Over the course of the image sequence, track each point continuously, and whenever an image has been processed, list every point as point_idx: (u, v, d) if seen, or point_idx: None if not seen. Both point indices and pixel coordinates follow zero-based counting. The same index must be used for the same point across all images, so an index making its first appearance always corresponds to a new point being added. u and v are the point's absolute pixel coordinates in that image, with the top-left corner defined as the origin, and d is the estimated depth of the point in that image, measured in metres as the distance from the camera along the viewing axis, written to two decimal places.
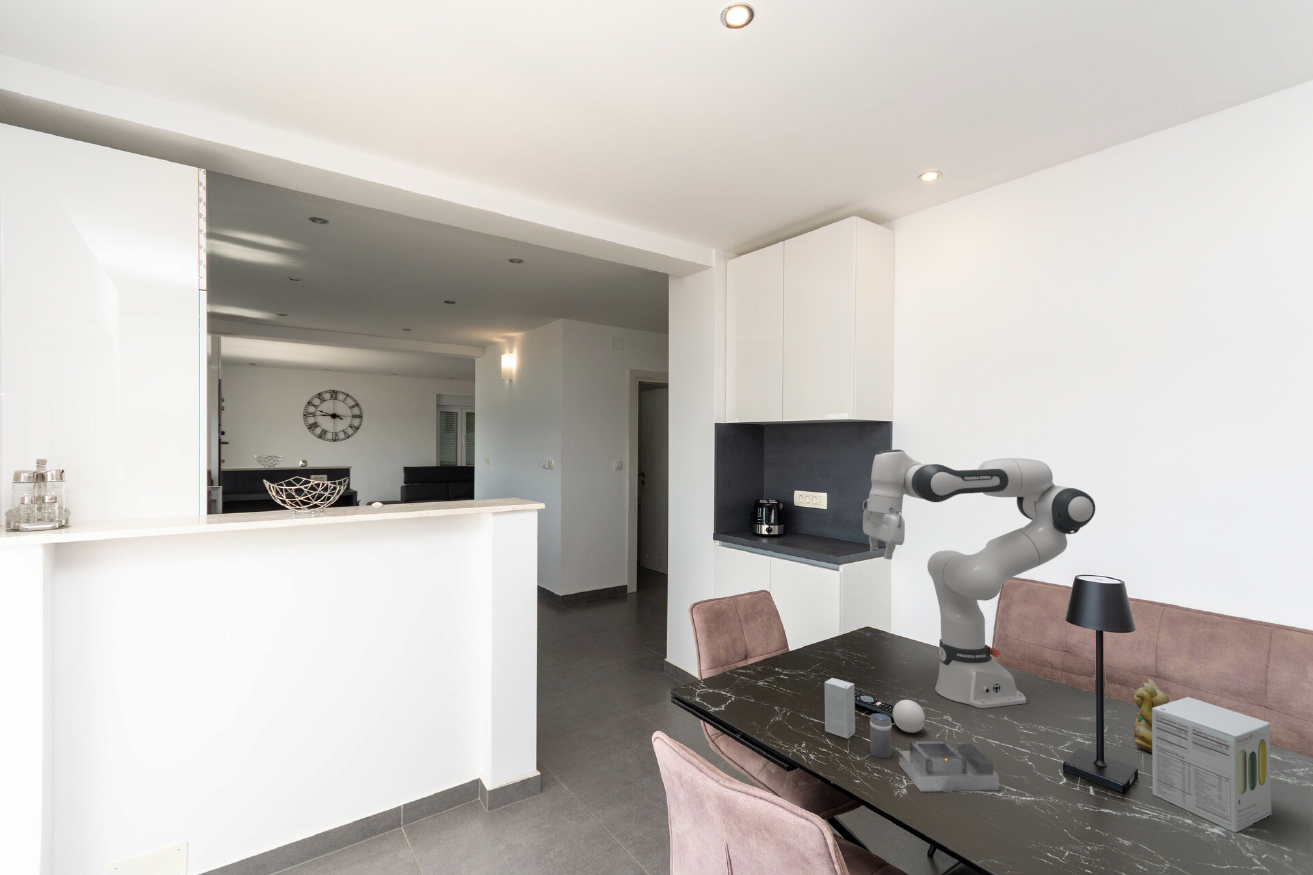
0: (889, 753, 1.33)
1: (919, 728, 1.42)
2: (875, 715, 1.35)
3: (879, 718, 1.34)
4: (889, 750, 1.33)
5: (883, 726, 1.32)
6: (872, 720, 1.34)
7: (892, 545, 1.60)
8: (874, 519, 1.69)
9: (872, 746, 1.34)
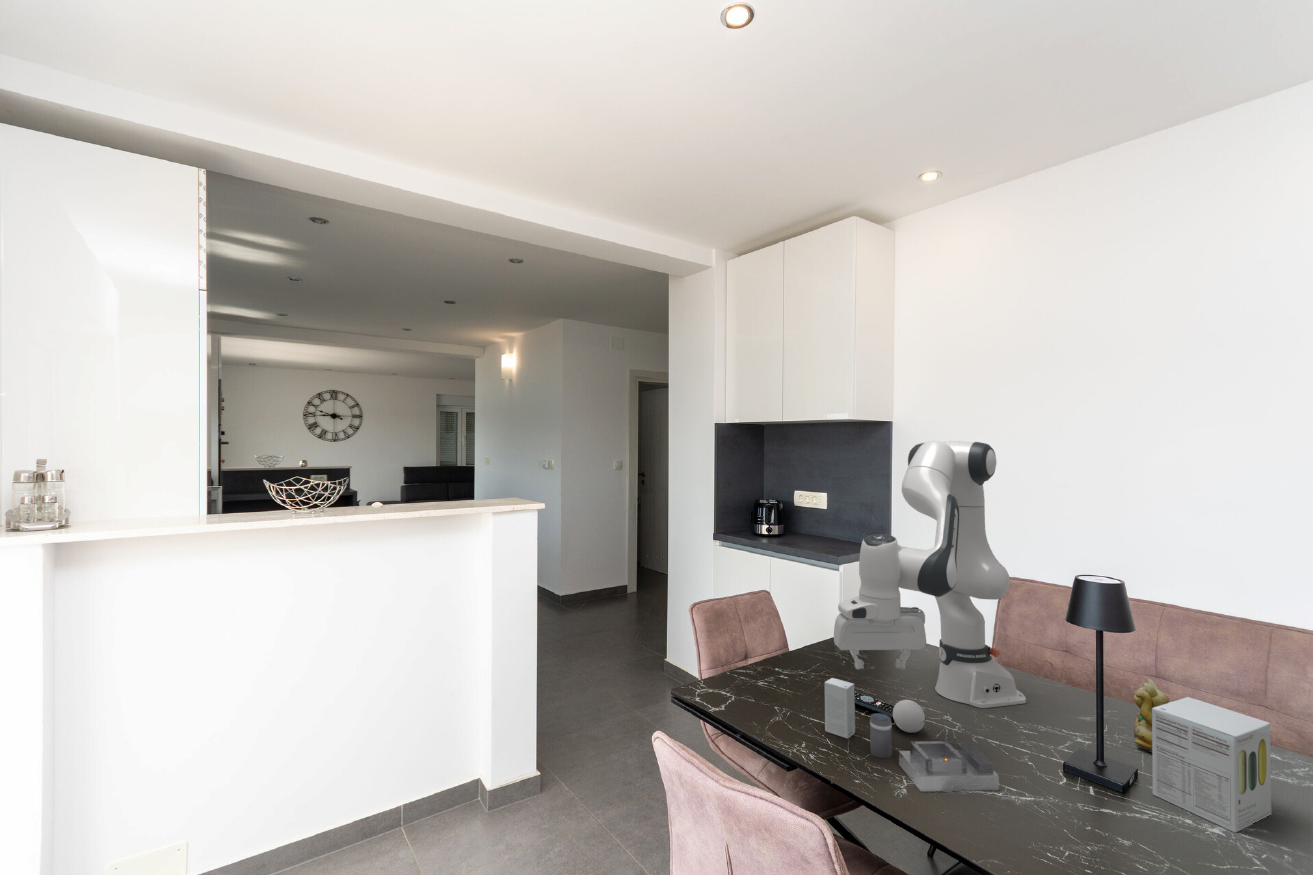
0: (889, 753, 1.33)
1: (919, 728, 1.42)
2: (875, 715, 1.35)
3: (879, 718, 1.34)
4: (889, 750, 1.33)
5: (883, 726, 1.32)
6: (872, 720, 1.34)
7: None
8: (870, 627, 1.33)
9: (872, 746, 1.34)
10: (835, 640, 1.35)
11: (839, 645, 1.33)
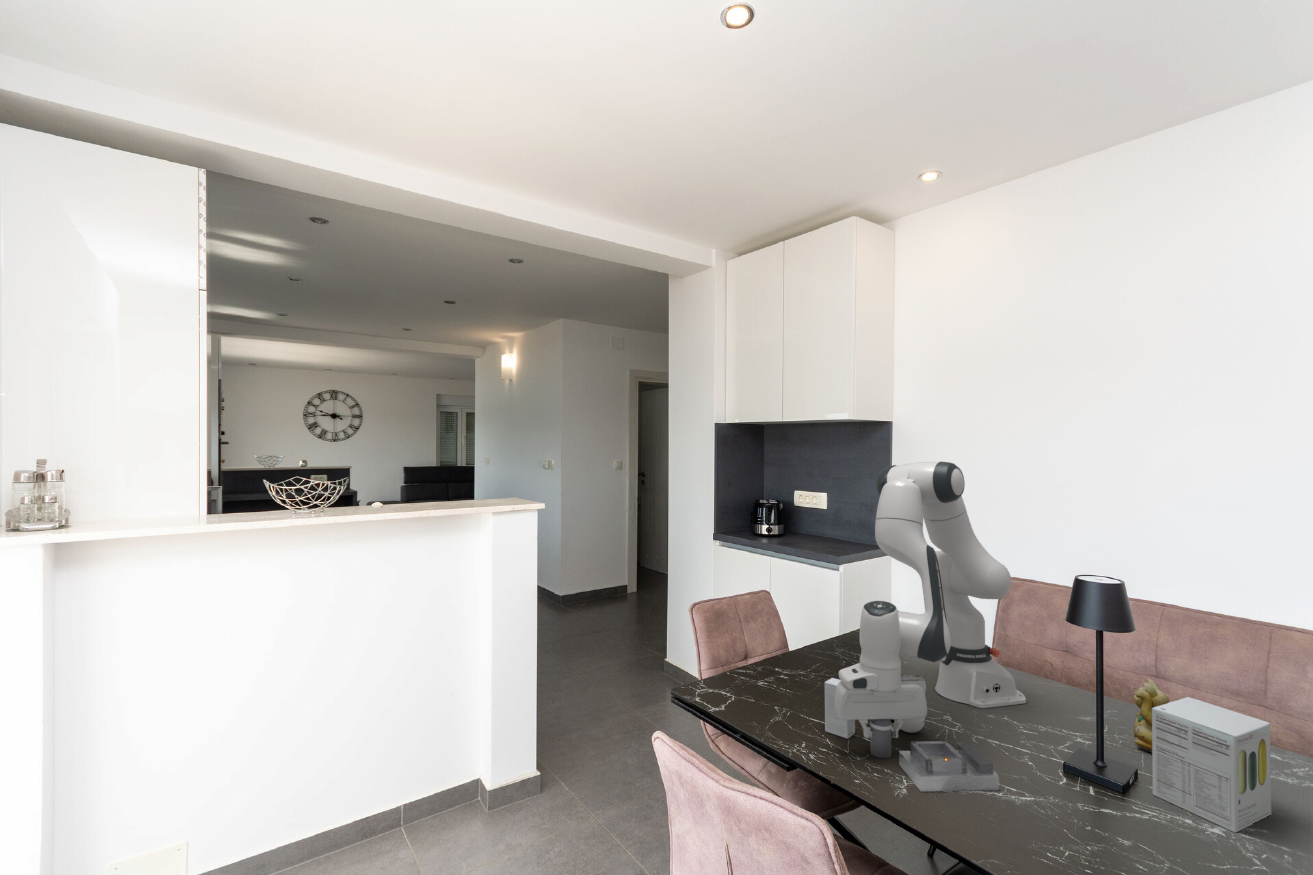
0: (889, 753, 1.33)
1: (919, 728, 1.42)
2: None
3: None
4: (889, 750, 1.33)
5: (883, 726, 1.32)
6: (872, 720, 1.34)
7: None
8: (870, 696, 1.33)
9: (872, 746, 1.34)
10: (836, 709, 1.35)
11: (840, 715, 1.33)
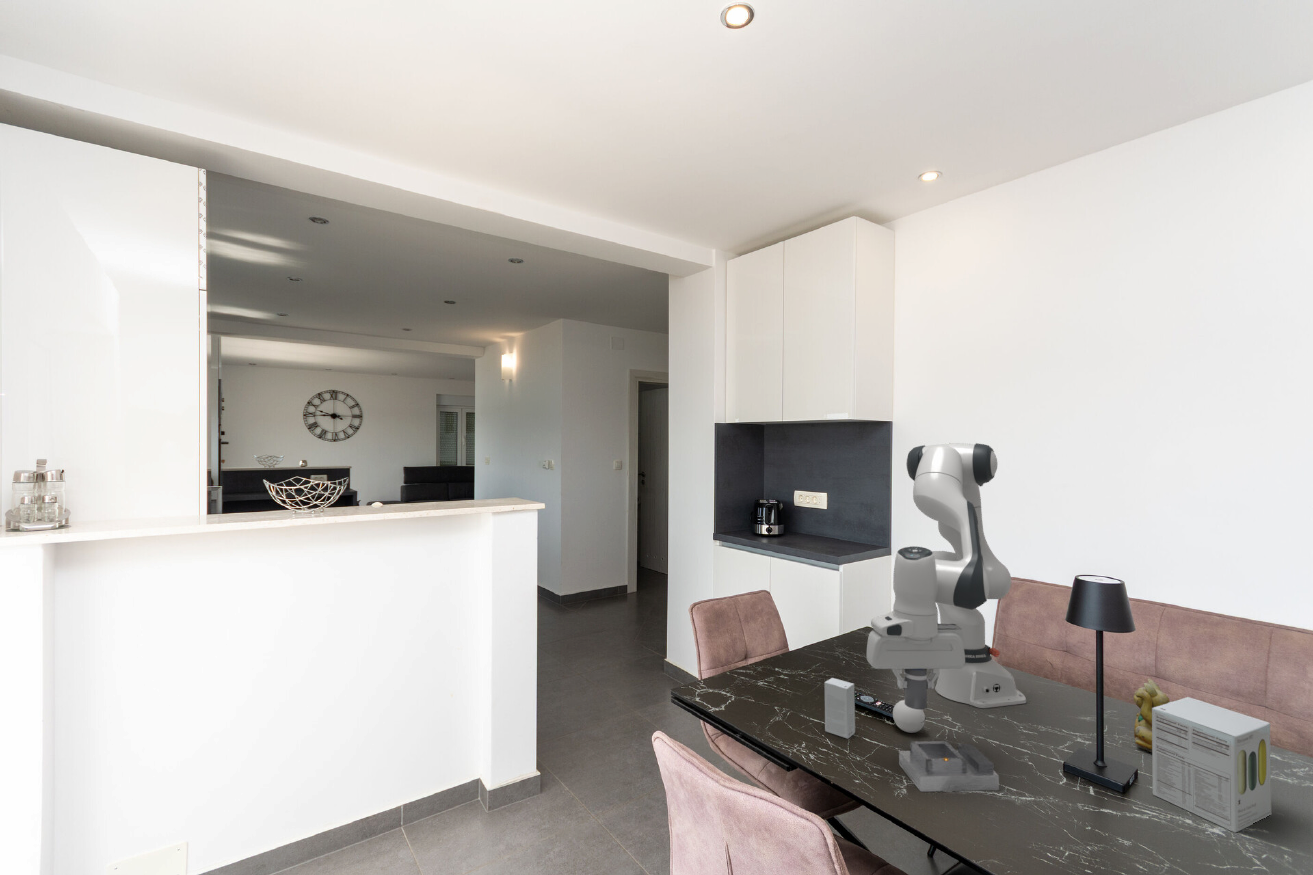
0: (925, 704, 1.26)
1: (919, 728, 1.42)
2: None
3: None
4: (925, 701, 1.26)
5: (918, 676, 1.26)
6: (906, 670, 1.28)
7: None
8: (905, 645, 1.27)
9: (906, 697, 1.28)
10: (868, 658, 1.29)
11: (873, 663, 1.26)
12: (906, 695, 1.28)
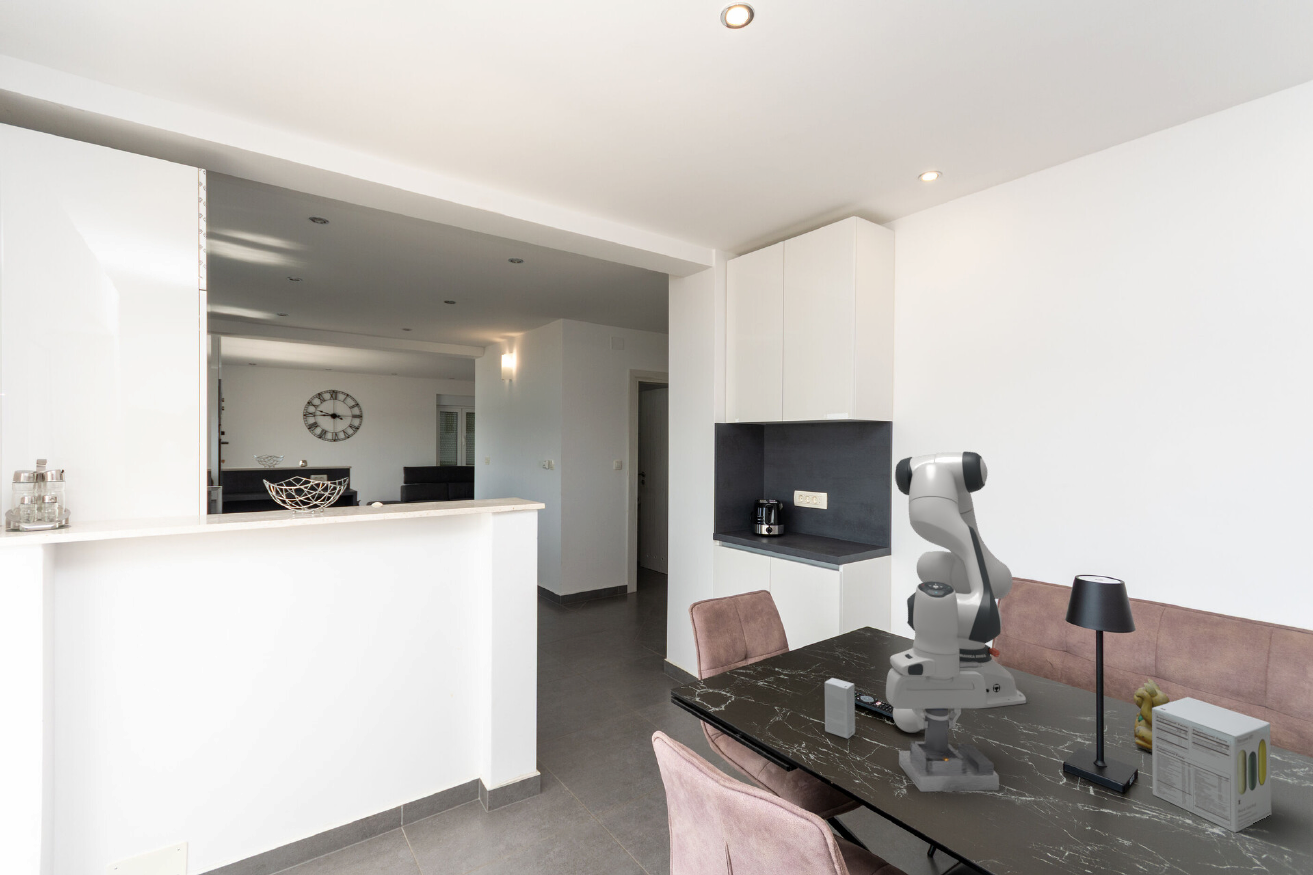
0: (946, 745, 1.23)
1: (919, 728, 1.42)
2: None
3: None
4: (946, 742, 1.23)
5: (940, 716, 1.23)
6: (927, 709, 1.24)
7: None
8: (926, 684, 1.23)
9: (927, 737, 1.24)
10: (888, 697, 1.25)
11: (893, 703, 1.23)
12: (927, 735, 1.24)
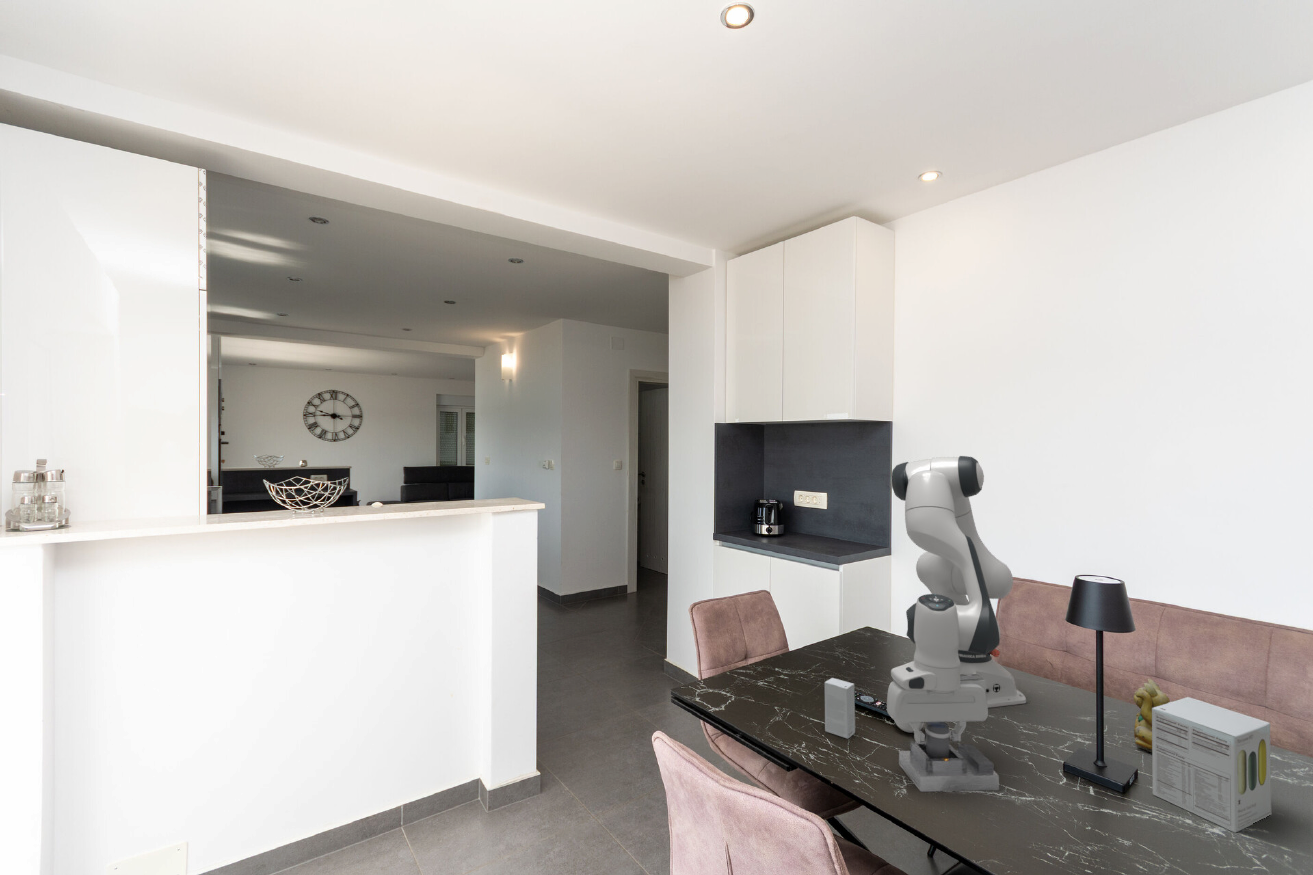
0: None
1: (919, 728, 1.42)
2: (931, 722, 1.26)
3: (936, 725, 1.24)
4: None
5: (941, 734, 1.23)
6: (928, 727, 1.24)
7: None
8: (927, 697, 1.23)
9: (928, 755, 1.24)
10: (889, 710, 1.25)
11: (894, 717, 1.23)
12: (928, 753, 1.24)
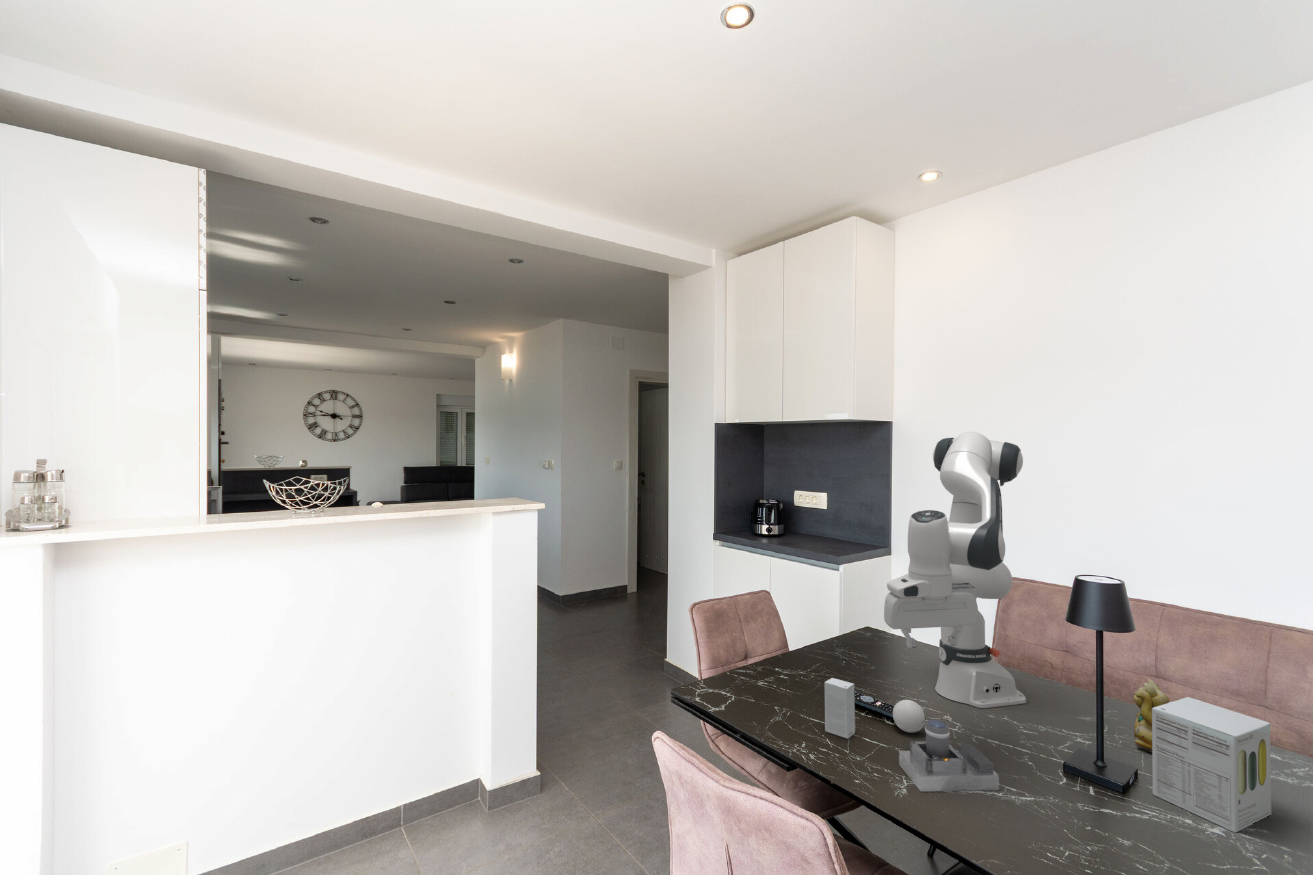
0: None
1: (919, 728, 1.42)
2: (931, 722, 1.26)
3: (936, 725, 1.24)
4: None
5: (941, 734, 1.23)
6: (928, 727, 1.24)
7: None
8: (921, 605, 1.31)
9: (928, 755, 1.24)
10: (886, 619, 1.33)
11: (891, 624, 1.31)
12: (928, 753, 1.24)
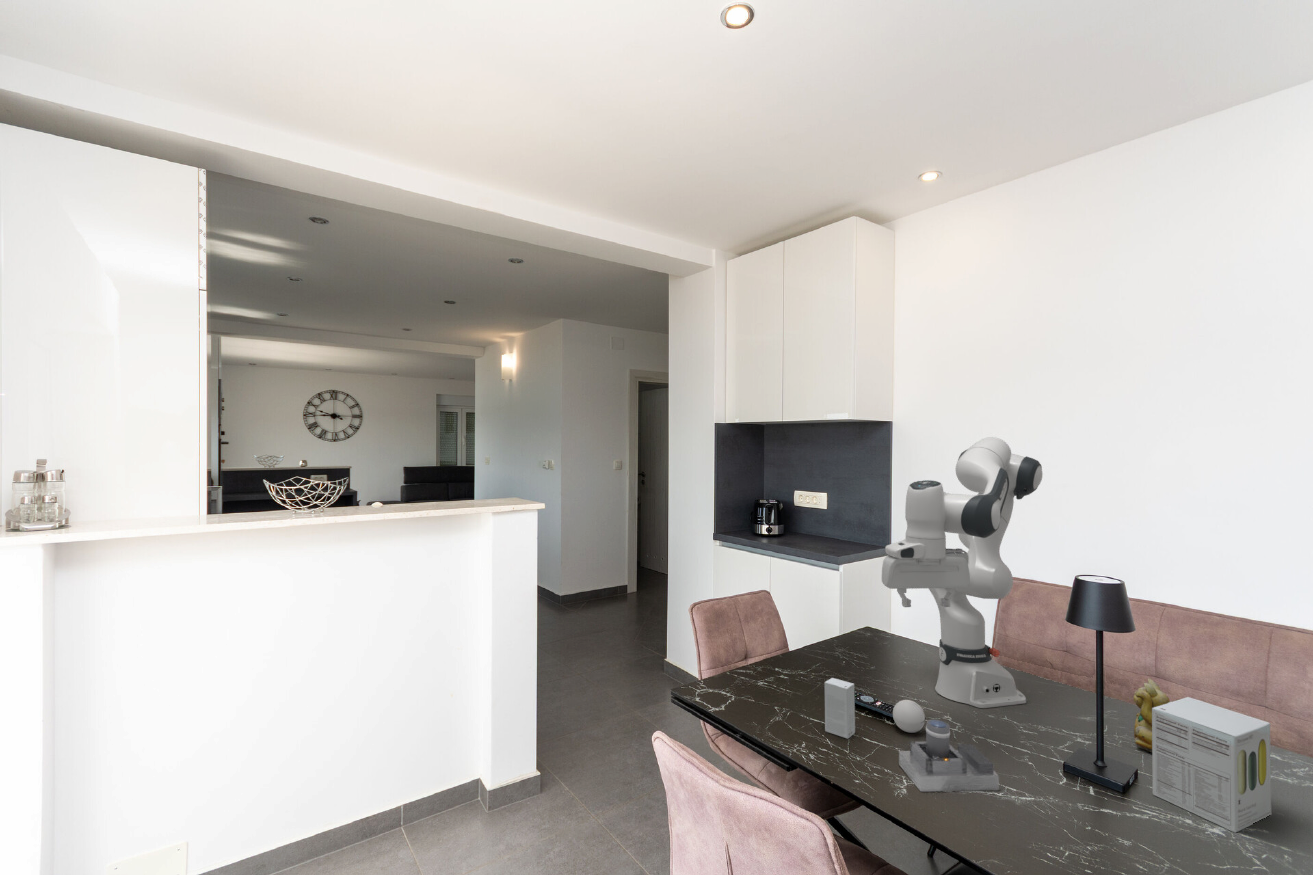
0: None
1: (919, 728, 1.42)
2: (932, 721, 1.26)
3: (937, 725, 1.24)
4: None
5: (942, 733, 1.23)
6: (929, 727, 1.24)
7: None
8: (917, 567, 1.41)
9: (929, 755, 1.24)
10: (883, 580, 1.42)
11: (888, 584, 1.40)
12: (928, 753, 1.24)
